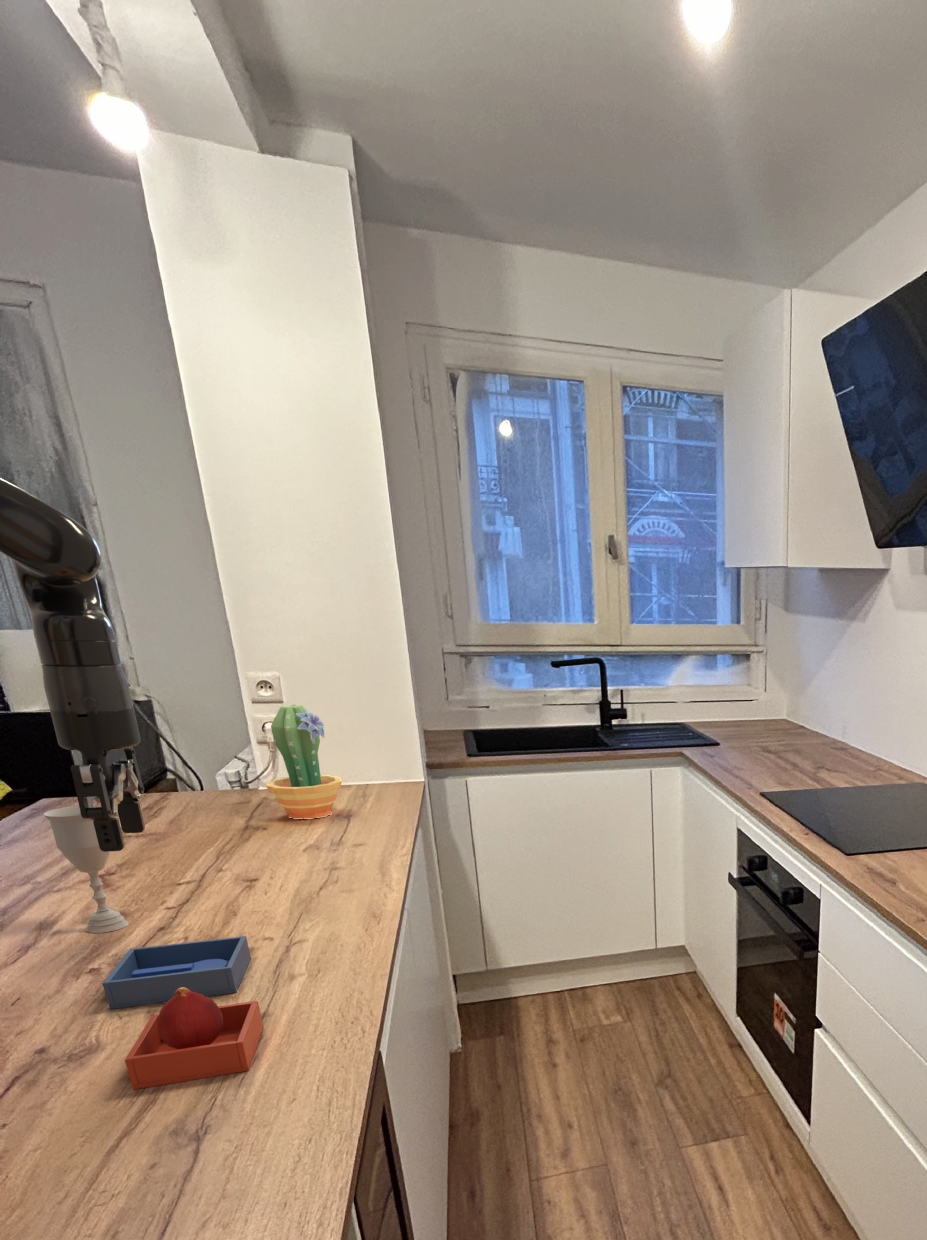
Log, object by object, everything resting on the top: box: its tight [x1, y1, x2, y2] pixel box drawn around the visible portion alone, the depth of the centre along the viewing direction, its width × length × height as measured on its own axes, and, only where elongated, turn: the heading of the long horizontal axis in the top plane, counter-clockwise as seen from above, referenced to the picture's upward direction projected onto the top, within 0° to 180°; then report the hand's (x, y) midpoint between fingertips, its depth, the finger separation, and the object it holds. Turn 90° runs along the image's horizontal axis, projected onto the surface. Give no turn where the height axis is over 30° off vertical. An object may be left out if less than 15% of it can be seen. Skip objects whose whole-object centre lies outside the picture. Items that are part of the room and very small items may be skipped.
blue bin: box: [102, 935, 252, 1010], centre depth 105 cm, size 13×11×4 cm
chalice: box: [42, 804, 130, 934], centre depth 120 cm, size 7×7×18 cm
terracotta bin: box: [124, 1000, 264, 1090], centre depth 89 cm, size 10×10×4 cm
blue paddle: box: [131, 959, 228, 978], centre depth 105 cm, size 10×5×2 cm, turn 113°
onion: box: [157, 987, 223, 1049], centre depth 88 cm, size 6×6×8 cm
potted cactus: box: [265, 704, 342, 819], centre depth 183 cm, size 15×15×25 cm
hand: (124, 841), depth 98 cm, fingers open, 8 cm apart
